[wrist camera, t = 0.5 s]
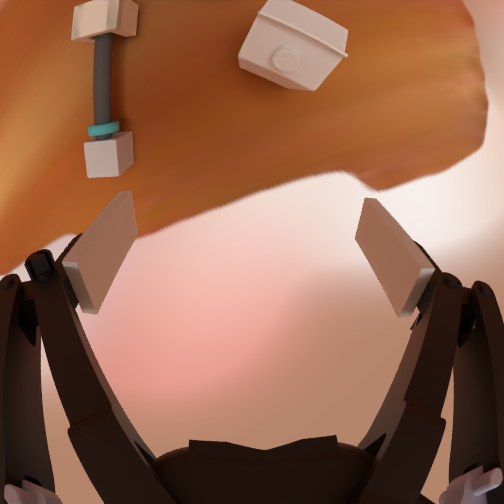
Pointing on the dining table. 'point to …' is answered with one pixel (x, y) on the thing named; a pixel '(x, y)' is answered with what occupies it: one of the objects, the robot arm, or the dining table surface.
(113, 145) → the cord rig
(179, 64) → the dining table surface
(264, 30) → the milk carton
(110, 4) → the sleeve
